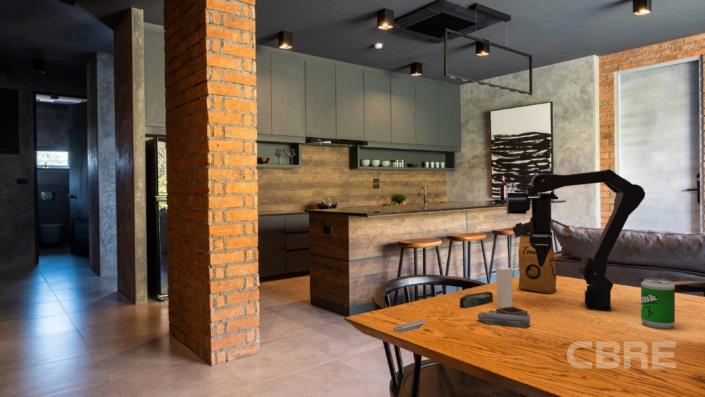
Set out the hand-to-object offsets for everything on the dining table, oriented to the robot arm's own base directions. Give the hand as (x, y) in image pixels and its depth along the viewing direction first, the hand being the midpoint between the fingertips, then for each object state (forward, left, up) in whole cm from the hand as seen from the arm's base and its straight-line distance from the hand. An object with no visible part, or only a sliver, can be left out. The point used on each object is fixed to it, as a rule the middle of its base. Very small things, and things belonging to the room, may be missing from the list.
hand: (541, 264), depth 146 cm
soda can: (-29, +11, -13) cm, 34 cm away
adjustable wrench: (+28, +30, -14) cm, 43 cm away
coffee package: (+2, -21, -13) cm, 25 cm away
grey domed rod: (+8, +29, -12) cm, 32 cm away
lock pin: (+10, +11, -13) cm, 20 cm away
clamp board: (+8, +24, -13) cm, 28 cm away
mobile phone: (+18, +12, -13) cm, 26 cm away
